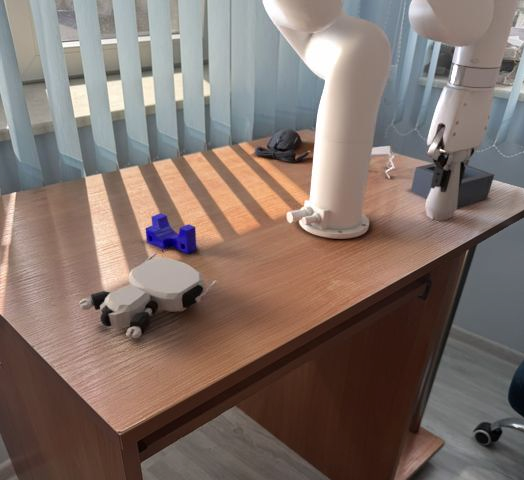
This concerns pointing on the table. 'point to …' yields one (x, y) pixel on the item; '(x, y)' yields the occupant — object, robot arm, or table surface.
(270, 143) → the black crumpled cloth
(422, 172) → the holder
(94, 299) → the robot toy
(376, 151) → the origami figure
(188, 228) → the cable holder
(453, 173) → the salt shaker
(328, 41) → the robot arm
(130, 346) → the table surface
